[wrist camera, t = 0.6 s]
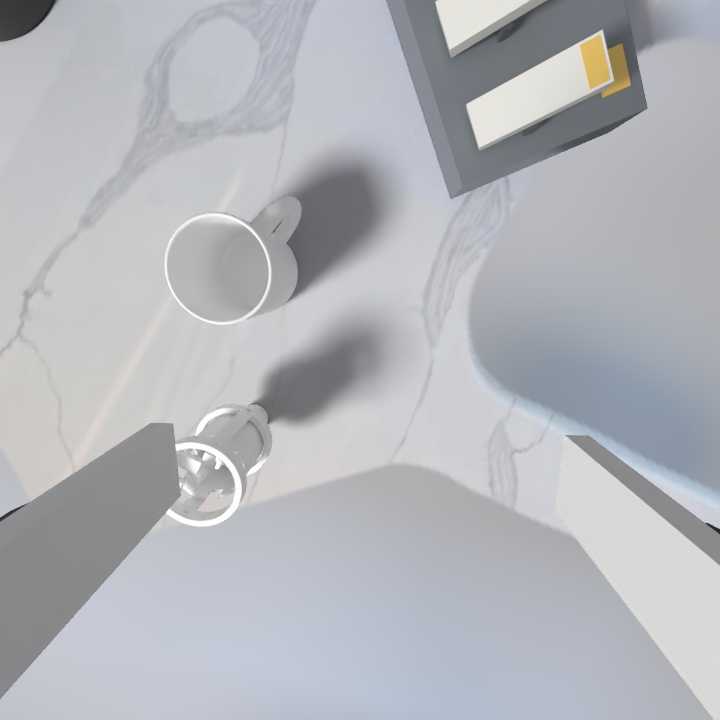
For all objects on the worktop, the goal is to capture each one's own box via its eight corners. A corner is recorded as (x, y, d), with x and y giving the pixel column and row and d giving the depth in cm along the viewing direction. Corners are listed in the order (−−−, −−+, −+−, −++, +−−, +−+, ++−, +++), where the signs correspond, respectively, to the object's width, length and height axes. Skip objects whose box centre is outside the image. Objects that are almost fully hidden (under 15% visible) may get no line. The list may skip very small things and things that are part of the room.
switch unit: (371, -46, 31) (370, -127, 25) (545, -136, 30) (591, -248, 23) (450, 198, 35) (467, 182, 29) (608, 132, 34) (662, 99, 27)
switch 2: (466, 109, 29) (466, 104, 28) (596, 39, 25) (602, 29, 24) (479, 151, 29) (479, 147, 28) (607, 88, 26) (614, 80, 25)
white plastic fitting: (237, 376, 40) (159, 433, 26) (295, 404, 41) (250, 476, 26) (214, 429, 42) (127, 511, 27) (270, 456, 42) (214, 551, 28)
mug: (277, 180, 36) (239, 143, 26) (340, 240, 37) (327, 227, 27) (204, 274, 38) (142, 273, 28) (265, 328, 39) (227, 346, 29)
